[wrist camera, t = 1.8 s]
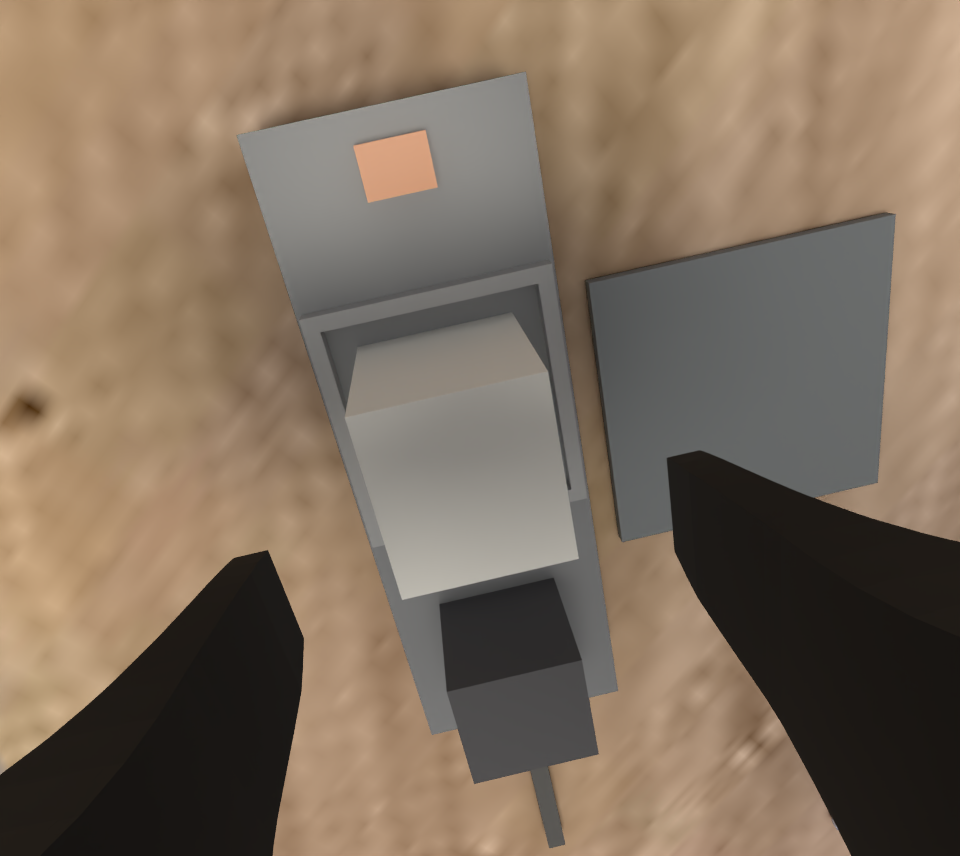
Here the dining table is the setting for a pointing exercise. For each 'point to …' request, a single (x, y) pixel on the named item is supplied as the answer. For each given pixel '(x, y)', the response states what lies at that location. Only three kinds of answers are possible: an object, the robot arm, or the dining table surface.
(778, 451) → the felt mat
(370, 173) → the power strip
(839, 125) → the dining table surface
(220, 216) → the dining table surface
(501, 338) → the block
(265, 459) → the dining table surface
